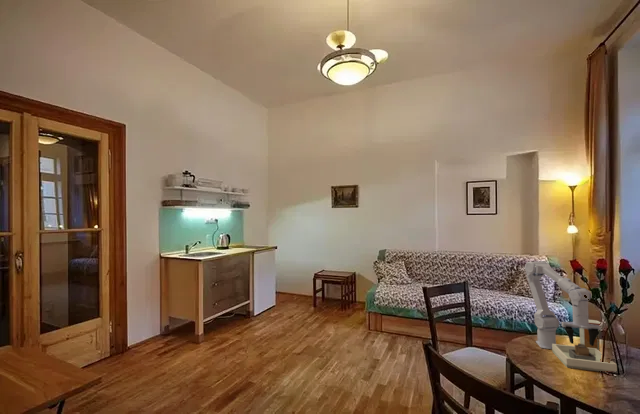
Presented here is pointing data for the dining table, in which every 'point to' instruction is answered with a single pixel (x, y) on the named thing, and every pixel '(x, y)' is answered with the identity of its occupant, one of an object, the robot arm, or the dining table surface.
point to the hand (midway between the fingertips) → (581, 343)
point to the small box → (585, 335)
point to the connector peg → (581, 350)
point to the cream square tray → (582, 359)
